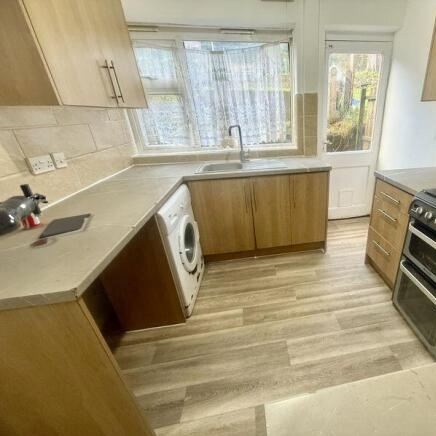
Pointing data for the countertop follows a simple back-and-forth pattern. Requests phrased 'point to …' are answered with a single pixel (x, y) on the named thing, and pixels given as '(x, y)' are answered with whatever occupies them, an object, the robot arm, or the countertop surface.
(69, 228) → the tablet
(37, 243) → the dock
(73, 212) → the countertop surface
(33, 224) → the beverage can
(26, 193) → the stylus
